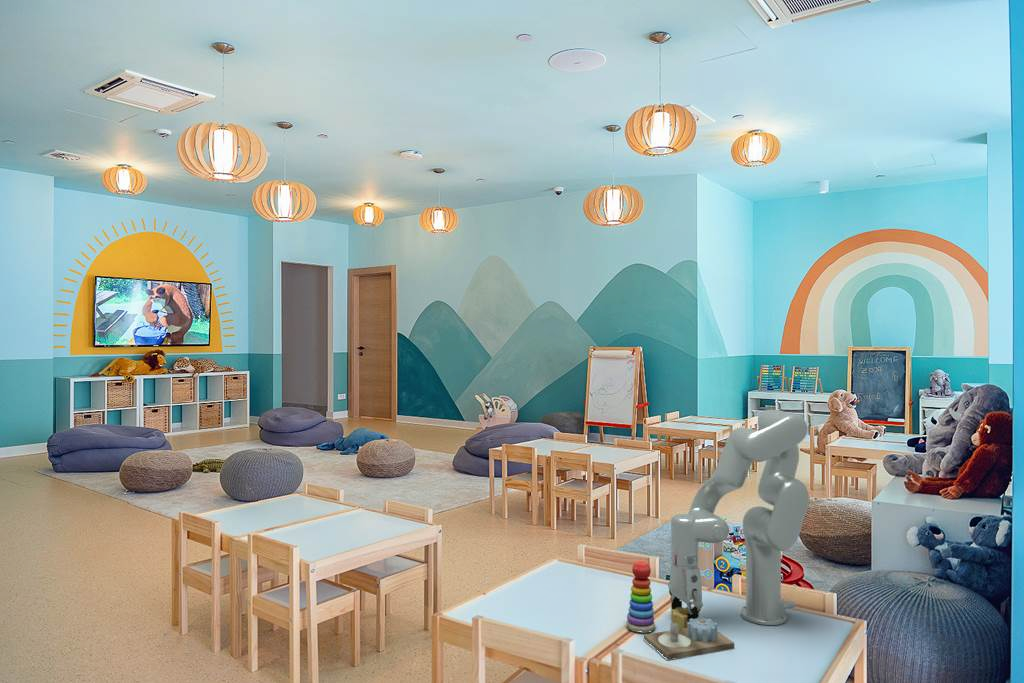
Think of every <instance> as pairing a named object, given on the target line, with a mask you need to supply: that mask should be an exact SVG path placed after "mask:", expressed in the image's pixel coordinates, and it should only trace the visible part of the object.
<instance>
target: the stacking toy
mask: <svg viewBox="0 0 1024 683" xmlns="http://www.w3.org/2000/svg"><path fill="white" fill-rule="evenodd" d="M631 571H632V574H633V576H634V578H633V579H632V586H631V587H630V591H631V593H630V596H629V597H630V600H629V601H628V602H629V607H628V612H627V615H626V618H627V621H626V627H627V628H628V629H629V630H630V631H632V632H634V631H642V632H649V631H651V632H653V631H654V630H656V623H655V617H654V616H655V615H654V613H655V609H654V607H653V606H654V603H653V601H652V599H653V595H652V588H651V587H650V585H651V580H650V578H649V577H650V575H651V571H652V569H651V566H650V564H649V563H648V562H646V561H643V560H638V561H636V562H634V564H633V565H632V570H631ZM649 633H650V632H649Z"/></svg>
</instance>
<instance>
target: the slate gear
mask: <svg viewBox="0 0 1024 683" xmlns="http://www.w3.org/2000/svg"><path fill="white" fill-rule="evenodd" d="M699 618H702V617H700V616H699V617H697V619H692V618H691V619H689V622H687V635H688V637H691V638H692V640H694V641H701V642H703V643H707V642H709V641H713V642H714V641H716V638H717V631H718V623H717V622H713V620H712V619H710V618H705V619H706V623H699V622H698V619H699Z"/></svg>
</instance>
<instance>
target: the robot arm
mask: <svg viewBox="0 0 1024 683" xmlns="http://www.w3.org/2000/svg"><path fill="white" fill-rule="evenodd" d="M757 426H758V429H759V430H755V429H752V428H748V427H737V428H736V427H735V428H734V429H733V430H731V431H730V432H729V435H728V437H727V439H726V442H725V444H724V447H723V450H722V452H721V454H720V457H719V460H718V462H717V465H716V467H715V469H714V471H713V474H712V476H711V477H709V478H708V479H707V480H706V481H705V482H704V484H702V486H701V487H700V488H699V489H698V491H697V492H696V494H695V495H694V498H693V500H692V502H691V505H690V508H689V511H688V513H678V514H675V515H673V516H672V517H671V520H670V571H669V572H670V573H669V582H667V587H668V591H669V592H668V593H669V595H670V598H669V599H670V602H671V608H670V609H671V610H672V609H676V607H681V608H683V603H685V604H686V607H687V608H688V611H689V613H687V622H689V619H691V618H692V619H697V617H698V614H700V612H701V610H702V608H703V606H704V602H703V589H702V588H703V587H702V586H703V585H702V577H701V570H700V567H699V543H708V544H718V543H722V542H724V541H725V540H726V539H727V538H728V536H729V534H730V528H729V525H728V523H727V522H726V521H725V520H724V519H723V518H722V517H720V516H718V515H717V514H714V513H715V510H716V508H717V506H718V504H719V502H720V500H721V499H722V498H724V496H726V495H728V494H729V493H732V492H736V491H737V490H739V489H742V487H743V486H744V483H745V482H746V479H747V476H748V474H749V471H750V469H751V465H752V463H753V462H756V463H760V462H765V464H764V467H763V470H762V473H761V476H760V481H759V483H758V486H757V494H758V496H759V498H760V499H761V500H762V501H763V502H765V503H766V504H768V505H771V506H773V508H772V509H771V508H768V507H765V506H759V505H758V506H754V507H751V508H748V510H747V511H746V512H745V514H744V516H743V519H742V531H743V537H744V544H745V605H744V606H742V607H741V608H740V615H741V617H742V618H743V619H744V620H746V621H748V622H751V623H752V624H753V623H754V624H757V625H761V626H762V625H764V626H779V625H783V624H784V623H785V622H787V618H788V616H787V613H786V612H785V611H786V610H787V609H793V608H794V609H795V607H796V604H795V602H794V601H793V600H789V601H785V599H783V598H782V584H781V583H782V569H781V568H782V556H781V552H785V551H788V550H791V548H793V546H794V545H795V544H796V543H797V541H798V538H799V537H800V534H801V529H802V527H803V524H804V520H805V516H806V514H807V512H808V507H809V504H810V503H809V501H810V496H809V495H810V494H809V490H808V488H807V486H806V485H805V483H803V482H802V481H801V480H800V479H797V478H796V474H797V470H798V465H799V461H800V450H799V447H798V445H799V444H800V443H801V442H803V441H804V439H805V438H806V436H807V434H808V425H807V422H806V420H805V419H804V418H803V417H802V416H801V415H798V414H796V413H793V412H786V411H784V410H783V411H782V410H778V409H765V410H764V411H762V412H761V413H760V414H759V416H758V419H757ZM692 605H693V607H692Z"/></svg>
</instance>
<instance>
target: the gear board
mask: <svg viewBox="0 0 1024 683" xmlns="http://www.w3.org/2000/svg"><path fill="white" fill-rule="evenodd" d="M706 619H707V618H705V617H701V618H699V619H698V622H699V623H706ZM669 626H670V630H663V631H660V632H659V631H658V632H651V633H645V634H643V640H644V639H645V640H646V641H647V642H648V643H649V644H651V645H652V646H653V647H654V648H655V649H656V650H658V651H659V652H660V653H661V654H663V656H664V657H666V658H667V659H673V658H678V659H684V658H688V657H694V656H701V655H705V654H711V653H712V654H713V653H716V652H722V651H728V650H733V649H735V641H732V639H730V638H728V637H727V636H725V635H724V634H722V633H721V632H719V631H718V630H717V638H716V641H714V642H713V641H709V642H707V643H703V642H701V641H694V640H692V638H691V637H688V635H687V628H682V629H680V628H678V624H677V623H671V622H670V625H669ZM649 644H648V645H649ZM664 657H663V658H664ZM673 660H674V659H673Z"/></svg>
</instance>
